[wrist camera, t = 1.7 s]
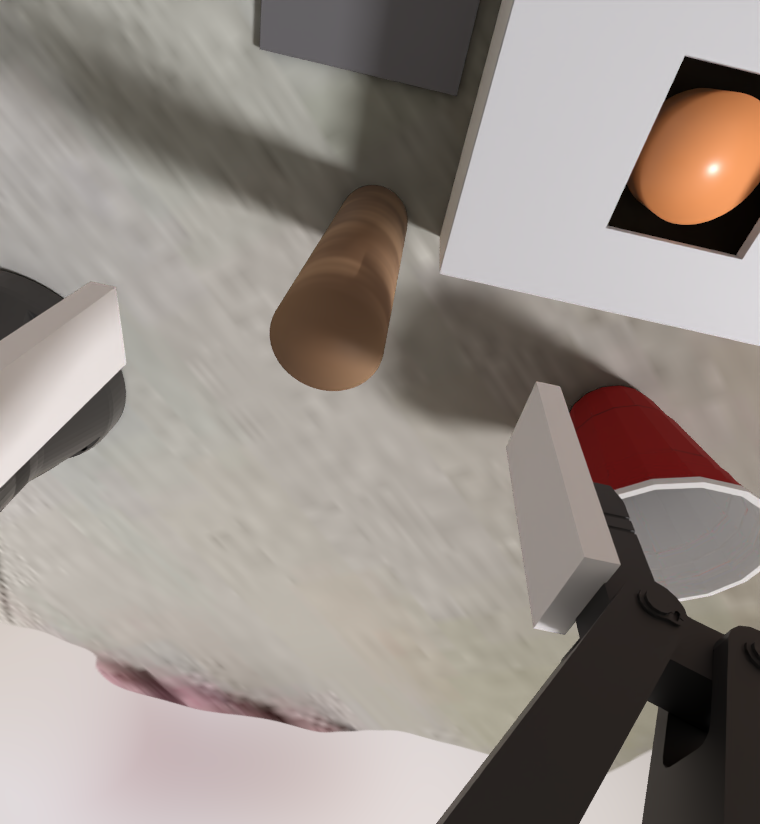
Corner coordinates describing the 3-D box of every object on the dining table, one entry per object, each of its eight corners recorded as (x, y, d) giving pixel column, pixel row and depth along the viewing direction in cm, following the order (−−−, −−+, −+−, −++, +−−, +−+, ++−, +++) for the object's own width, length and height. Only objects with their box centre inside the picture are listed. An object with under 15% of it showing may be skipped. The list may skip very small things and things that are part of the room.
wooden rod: (335, 247, 30) (266, 378, 18) (345, 177, 28) (273, 275, 16) (399, 261, 30) (372, 400, 18) (414, 193, 28) (395, 302, 16)
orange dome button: (605, 197, 25) (620, 210, 23) (659, 75, 22) (681, 78, 20) (704, 220, 25) (727, 235, 23) (772, 102, 22) (805, 107, 20)
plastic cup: (500, 446, 38) (521, 580, 29) (586, 330, 32) (649, 451, 22) (621, 492, 40) (679, 634, 30) (725, 391, 34) (840, 529, 24)
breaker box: (439, 236, 29) (439, 273, 25) (525, -91, 21) (551, -133, 16) (761, 310, 30) (823, 360, 25) (968, 20, 22) (1118, 13, 17)
